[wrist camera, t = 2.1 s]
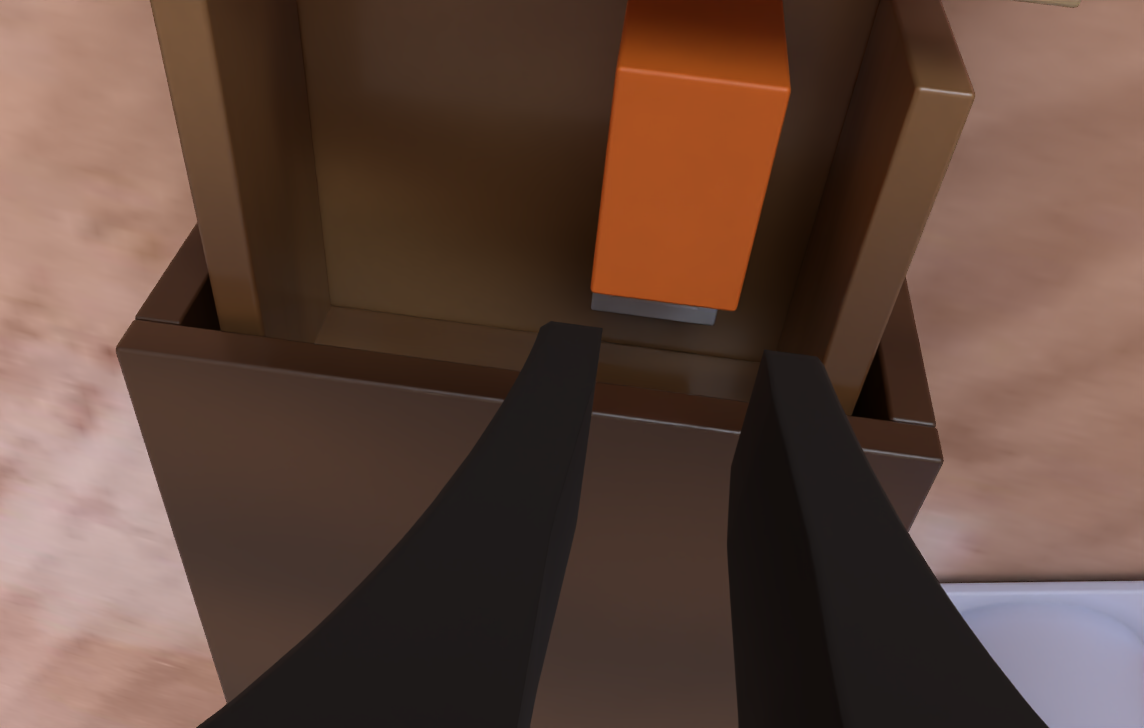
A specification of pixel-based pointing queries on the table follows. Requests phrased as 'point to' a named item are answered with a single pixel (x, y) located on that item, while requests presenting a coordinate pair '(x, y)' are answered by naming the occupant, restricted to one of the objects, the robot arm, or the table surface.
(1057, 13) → the table surface
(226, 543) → the cabinet
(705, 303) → the block
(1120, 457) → the table surface
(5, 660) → the table surface
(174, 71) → the drawer
